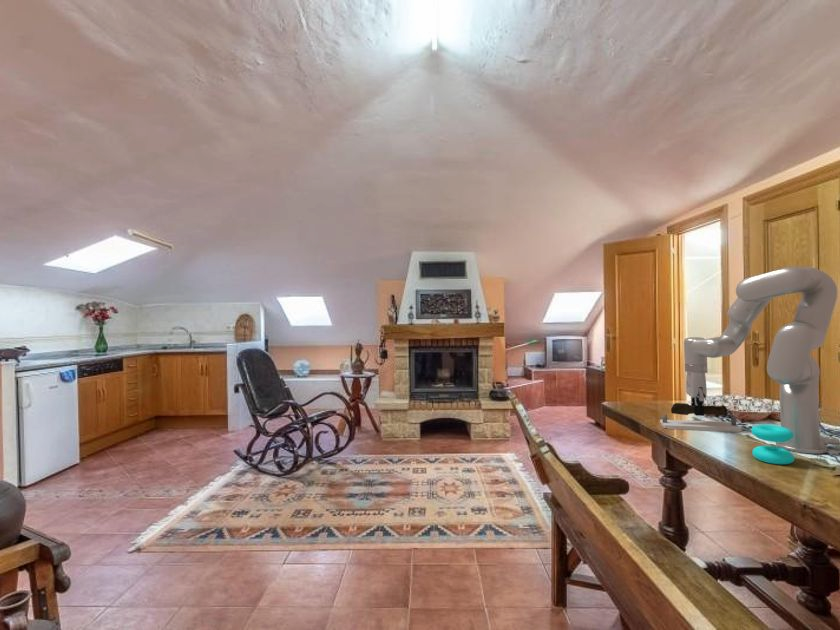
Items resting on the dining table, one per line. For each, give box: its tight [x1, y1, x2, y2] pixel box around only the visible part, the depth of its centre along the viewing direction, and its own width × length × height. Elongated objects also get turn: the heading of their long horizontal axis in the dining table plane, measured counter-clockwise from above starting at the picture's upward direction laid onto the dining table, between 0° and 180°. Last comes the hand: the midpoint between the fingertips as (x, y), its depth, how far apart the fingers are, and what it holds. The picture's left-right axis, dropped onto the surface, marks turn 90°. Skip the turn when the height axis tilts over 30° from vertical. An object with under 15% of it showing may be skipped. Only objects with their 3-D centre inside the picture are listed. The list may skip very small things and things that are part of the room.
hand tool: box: [670, 402, 728, 417], centre depth 165 cm, size 19×4×5 cm, turn 71°
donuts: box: [750, 424, 795, 465], centre depth 128 cm, size 10×10×10 cm
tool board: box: [659, 414, 743, 433], centre depth 164 cm, size 26×9×4 cm, turn 71°
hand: (697, 413), depth 164 cm, fingers closed on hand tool, 3 cm apart
